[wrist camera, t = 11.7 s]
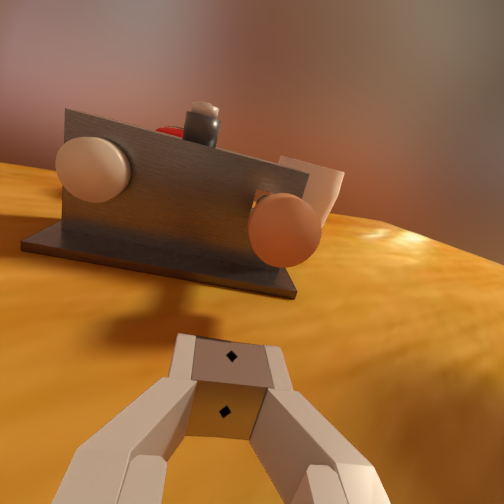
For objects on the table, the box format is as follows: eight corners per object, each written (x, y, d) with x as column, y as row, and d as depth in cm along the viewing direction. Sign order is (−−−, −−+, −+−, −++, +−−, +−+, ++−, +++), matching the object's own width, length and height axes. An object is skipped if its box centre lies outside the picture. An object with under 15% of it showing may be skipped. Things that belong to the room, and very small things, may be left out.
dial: (221, 149, 27) (229, 108, 26) (190, 141, 25) (198, 97, 24) (206, 144, 30) (213, 107, 28) (177, 137, 28) (183, 96, 26)
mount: (294, 298, 27) (335, 182, 23) (20, 250, 22) (18, 97, 19) (275, 258, 36) (302, 170, 32) (78, 218, 32) (84, 111, 28)
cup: (302, 265, 36) (335, 169, 32) (244, 239, 40) (267, 151, 36) (324, 253, 43) (353, 175, 40) (273, 232, 47) (295, 159, 43)
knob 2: (308, 273, 21) (331, 207, 19) (242, 260, 20) (261, 190, 18) (282, 234, 30) (297, 186, 28) (235, 224, 29) (247, 174, 27)
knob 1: (120, 208, 24) (126, 146, 22) (54, 194, 23) (56, 128, 21) (146, 190, 32) (152, 145, 31) (99, 179, 31) (103, 132, 30)
